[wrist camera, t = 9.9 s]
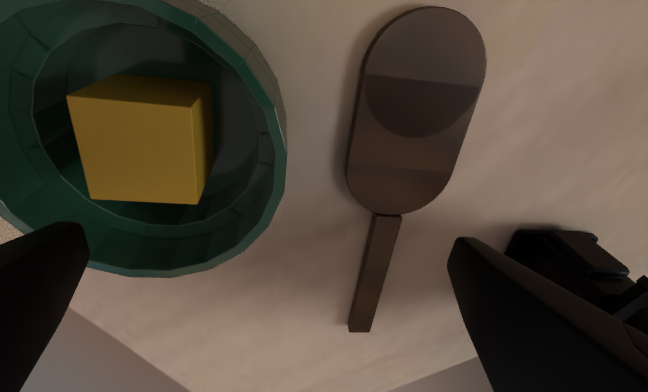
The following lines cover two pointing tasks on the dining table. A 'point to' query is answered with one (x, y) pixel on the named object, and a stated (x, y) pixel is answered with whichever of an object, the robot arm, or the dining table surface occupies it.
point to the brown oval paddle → (408, 129)
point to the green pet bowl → (144, 60)
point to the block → (144, 138)
